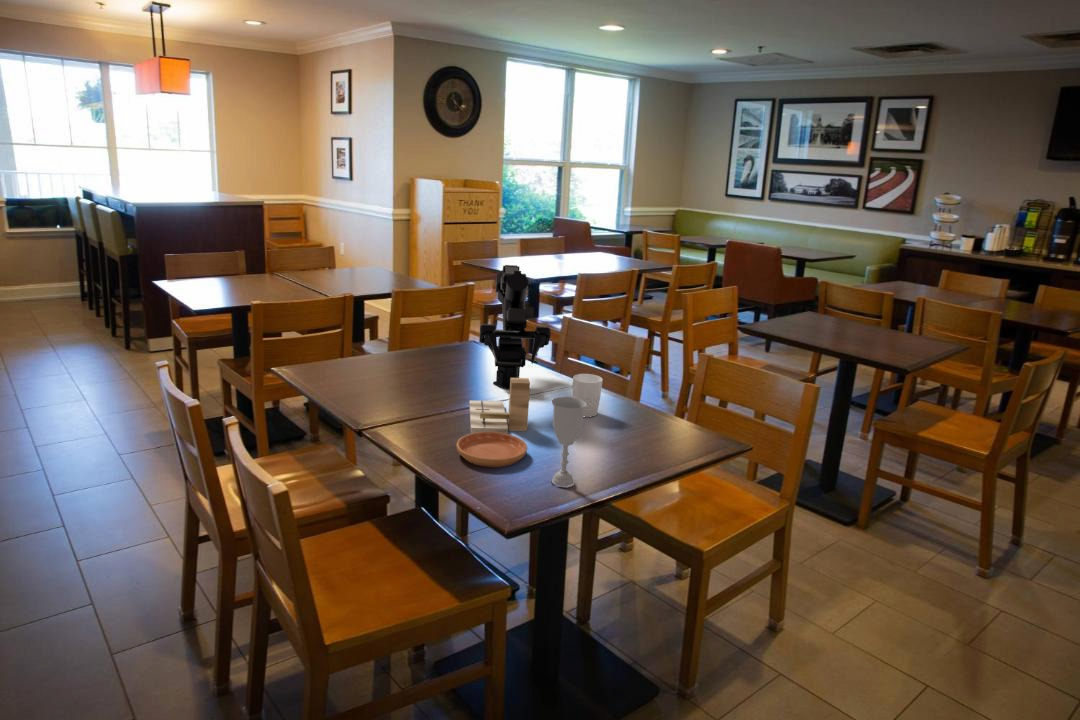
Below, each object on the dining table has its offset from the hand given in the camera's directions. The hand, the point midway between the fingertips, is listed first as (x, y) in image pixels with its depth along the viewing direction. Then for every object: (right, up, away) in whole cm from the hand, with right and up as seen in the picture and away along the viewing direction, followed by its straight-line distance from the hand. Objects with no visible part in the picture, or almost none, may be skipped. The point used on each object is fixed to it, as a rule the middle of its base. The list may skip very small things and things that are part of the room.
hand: (515, 362), depth 187 cm
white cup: (+19, -14, +7) cm, 24 cm away
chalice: (+11, -26, -36) cm, 45 cm away
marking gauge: (-3, -16, -7) cm, 18 cm away
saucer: (-5, -22, -24) cm, 33 cm away
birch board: (-7, -15, -3) cm, 16 cm away
